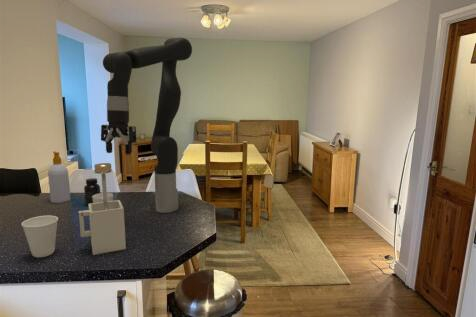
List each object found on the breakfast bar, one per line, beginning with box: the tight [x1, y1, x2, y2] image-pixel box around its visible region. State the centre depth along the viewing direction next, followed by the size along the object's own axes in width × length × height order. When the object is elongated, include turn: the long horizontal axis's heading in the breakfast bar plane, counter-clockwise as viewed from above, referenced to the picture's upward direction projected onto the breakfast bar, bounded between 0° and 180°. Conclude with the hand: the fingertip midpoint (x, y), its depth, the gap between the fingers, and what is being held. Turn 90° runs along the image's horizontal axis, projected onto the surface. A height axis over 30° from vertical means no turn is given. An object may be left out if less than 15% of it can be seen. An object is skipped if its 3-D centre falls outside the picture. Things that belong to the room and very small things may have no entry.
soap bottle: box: [47, 150, 71, 204], centre depth 157 cm, size 9×9×24 cm
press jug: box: [78, 199, 127, 256], centre depth 108 cm, size 13×10×14 cm
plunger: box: [94, 162, 112, 210], centre depth 106 cm, size 8×8×19 cm
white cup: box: [92, 192, 114, 203], centre depth 134 cm, size 8×8×10 cm
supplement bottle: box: [83, 177, 101, 207], centre depth 152 cm, size 7×7×12 cm
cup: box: [21, 214, 59, 258], centre depth 103 cm, size 10×10×11 cm
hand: (118, 153), depth 120 cm, fingers open, 8 cm apart
